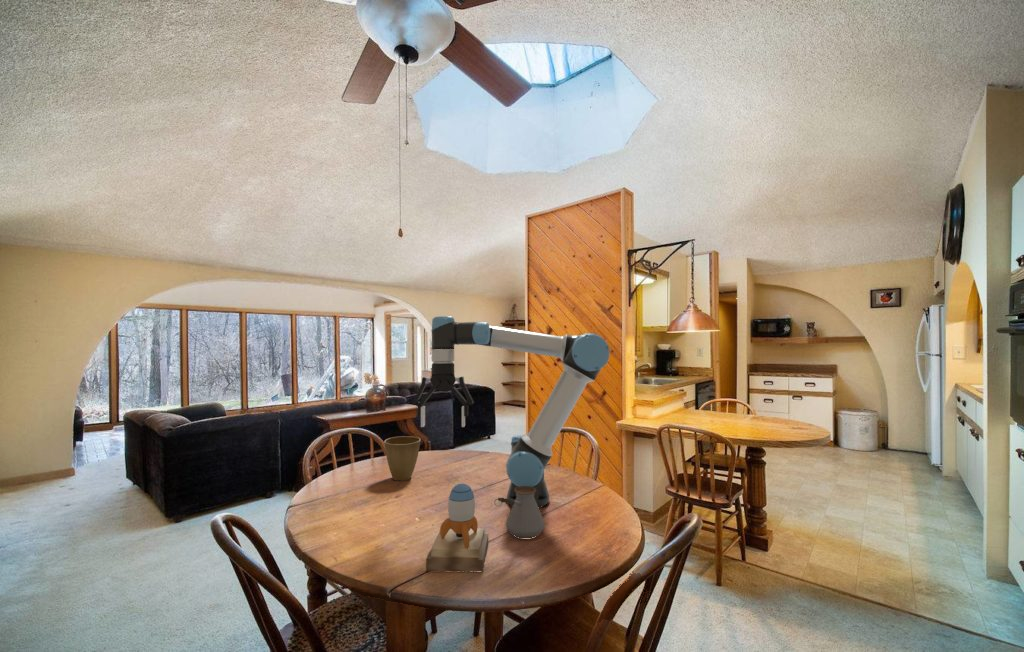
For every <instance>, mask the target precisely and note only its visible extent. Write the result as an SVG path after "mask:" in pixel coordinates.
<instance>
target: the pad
mask: <svg viewBox="0 0 1024 652" xmlns="http://www.w3.org/2000/svg"><path fill="white" fill-rule="evenodd" d="M488 549H489V533H485V528H484V527H483V528H482V527H477V532H476V533H475V532H474V531H473V530H472V529H470V530H469V547H468V549H466V548H465V546H464V541H463V537H462V538H459V537H457V536H456V533H455V532H454V531H453V530H451V529H450V530H449V531H448V532H447V534H446V535H445V537H444V538H441V536H440V531H439V532H438V533H437V536H436V538H435V540H434V542H433V544H432V546H431V548H430V550H429V552H428V554H427V556H426V558H425V571H461V572H460V573H471V572H470V571H473V572H472V573H475V572H474V571H483V572H484V569H485V564H484V563H486V559H485V558H487V554H488ZM483 568H484V569H483ZM462 571H464V572H462ZM465 571H467V572H465Z"/></svg>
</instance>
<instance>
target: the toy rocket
mask: <svg viewBox="0 0 1024 652" xmlns="http://www.w3.org/2000/svg"><path fill="white" fill-rule="evenodd" d="M475 506H476V502H475V495H474V492H473V490H472V487H471V486H470V485H468V484H466V483H458V484H456V485H454V486H453V487H452V489H451V491H450V492H449V496H448V503H447V507H448V517H447V518H446V519H445V520H444V521H443V522H442V523H441V525H440V528H439V532H440V536H441V538H444V537H445V535H446V534H447V532H448V531H449V530H450V529H451V530H453V531H454V532H455V533H456V536H457V537H459V538H462V537H463V541H464V546H465V548H466V549H468V547H469V530H470V529H472V530H473V531H474V532H475V533H476V532H477V528H479V527H478V526H479V525H478V519H477V517H476V515H475V508H476V507H475Z"/></svg>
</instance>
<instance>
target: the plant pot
mask: <svg viewBox="0 0 1024 652" xmlns="http://www.w3.org/2000/svg"><path fill="white" fill-rule="evenodd" d="M383 443H384V451H385V456H386V461H387V465H388V469H389V471H390V475H391V477H392V480H394V481H396V480H404V481H408V480H410V479H411V478H412V477H413V472H414V471H415V467H416V463H417V461H418V460H417V459H418V456H419V452H420V446H421V438H420V437H417V436H411V435H410V436H407V435H406V436H404V435H403V436H393V437H389V438H386V439H385V440H384V442H383ZM407 479H408V480H407Z"/></svg>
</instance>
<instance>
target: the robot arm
mask: <svg viewBox="0 0 1024 652" xmlns="http://www.w3.org/2000/svg"><path fill="white" fill-rule="evenodd" d="M431 321H432V322H431V331H430V332H431V362H433V363H432V364H431V377H427V376H423V377H422V378H421V384H420V386H419V388H418V390H417V392H416V394H415V396H414V398H413V400H412V404H411V405H413V406H416V407H417V416H418V417H420V428H424V427H425V426H426V406H425V405H424V404H426V402H427V401H428V399H429V398H430V397H431V396H432V395H433V393H435V391H446V392H447V391H450V392H452V393H453V395H454V396H455V397H456V398H457V400H458V401H459V402H460V403H461V404H462V406H461V428H465V426H466V417H468V416H469V406H472V405H473V404H474V403H475V402H474V400H473V397H472V395H471V394H470V391H469V390H468V387H467V385H466V383H465V377H464V376H459V377H456V376H455V363H454V362H455V345H457V346H458V345H470V346H471V345H475V346H477V345H478V346H482V347H483V346H485V347H492V348H498V349H505V350H510V351H517V352H522V353H529V354H536V355H541V356H547V357H548V356H549V357H553V358H554V357H555V358H559V359H560V360H561V361H562V367H563V371H562V372H561V374H560V376H559V378H558V380H557V381H556V383H555V385H554V387H553V389H552V391H551V392H550V394H549V396H548V398H547V399H546V400H545V401H546V402H545V403H544V404H543V406H542V409H540V412H539V414H538V415H537V418H536V419H535V421H534V422H533V424H532V425H531V427H530V429H529V431H528V433H525V434H522V435H514V436H512V437H511V442H510V445H511V451H510V455H509V458H508V459H507V461H506V464H505V465H506V467H505V468H506V474H507V477H508V479H509V480H510V483H509V487H508V490H507V493H506V498H508V499H511V500H514V501H515V500H516V497H517V495H516V492H515V491H514V489H515V487H520V486H531V487H534V488H535V489H536V492H535V493H534V498H535V501H536V503H537V505H538V507H541V506H544V505H546V504H547V503H548V502H549V503H550V492H549V490H548V487H547V484H546V481H545V469H546V467H547V465H548V464H549V462H550V460H551V458H552V456H553V455H554V454H553V451H552V447H553V444H554V443H555V442H556V440H557V438H558V436H559V434H560V433H561V430H562V429H563V427H564V425H565V423H566V422H567V421H568V418H569V417H570V415H571V413H572V411H573V409H574V408H575V406H576V404H577V402H578V400H579V399H580V397H581V395H582V394H583V391H584V390H585V388H586V387H587V385H588V384H589V383H594V382H595V380H596V378H597V377H598V375H599V373H600V371H601V370H602V369H603V367H604V368H605V366H606V365H607V363H608V361H609V359H610V354H611V353H610V347H609V345H608V342H607V341H606V340H605V339H604V338H603V337H602V336H600V335H598V334H596V333H592V332H591V333H590V332H587V333H586V332H585V333H583V334H580V335H575V334H574V335H573V334H564V335H563V336H562V335H561V336H560V335H553V334H547V333H539V332H533V331H528V330H527V331H526V330H520V329H516V328H514V329H513V328H507V327H500V326H493V325H490V324H489V322H486V321H471V322H470V321H466V322H458V321H457V322H456V321H455V318H454V317H453V316H450V315H449V316H445V315H444V316H442V315H441V316H434V317H433V318H432V320H431ZM455 382H456V383H457V384H459V385H460V388H461V390H462V392H463V393H464V396H465V397H464V396H463V395H462V393H460V391H459V390H458V389H457V388H456V386H455V385H454V384H455ZM429 383H431V384H432V386H431V388H429V390H428V391H427V393H425V395H423V393H424V390H425V388H426V387H427V384H429ZM422 395H423V398H421V397H422ZM465 398H466V399H465ZM420 399H421V400H420ZM549 503H548V504H549ZM507 504H508V505H509V506H511V507H513V505H514V504H511V503H507ZM548 504H547V505H548ZM547 505H546V506H547ZM544 507H545V506H544ZM541 508H542V507H541Z"/></svg>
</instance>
